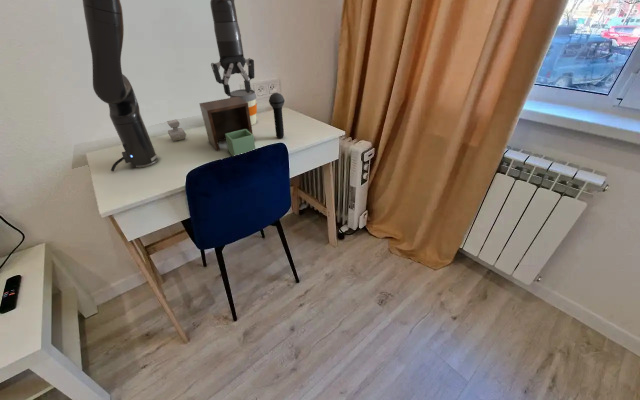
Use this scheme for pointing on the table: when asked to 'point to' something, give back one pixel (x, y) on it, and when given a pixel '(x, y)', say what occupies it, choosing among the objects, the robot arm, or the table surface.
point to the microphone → (277, 113)
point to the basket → (240, 141)
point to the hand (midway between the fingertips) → (238, 93)
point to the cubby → (225, 118)
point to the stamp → (176, 130)
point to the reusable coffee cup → (251, 101)
